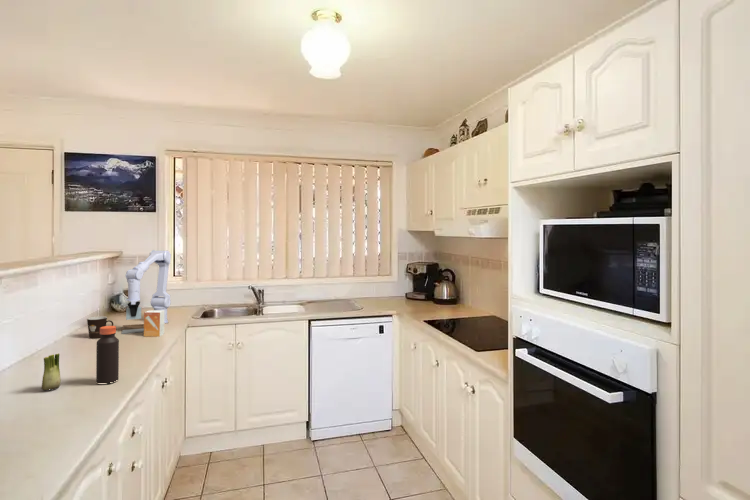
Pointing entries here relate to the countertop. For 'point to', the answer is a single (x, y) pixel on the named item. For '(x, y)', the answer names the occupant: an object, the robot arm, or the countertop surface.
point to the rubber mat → (132, 331)
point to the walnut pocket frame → (133, 326)
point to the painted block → (138, 316)
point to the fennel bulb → (51, 373)
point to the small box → (153, 323)
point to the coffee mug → (96, 326)
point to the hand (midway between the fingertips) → (133, 315)
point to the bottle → (107, 356)
